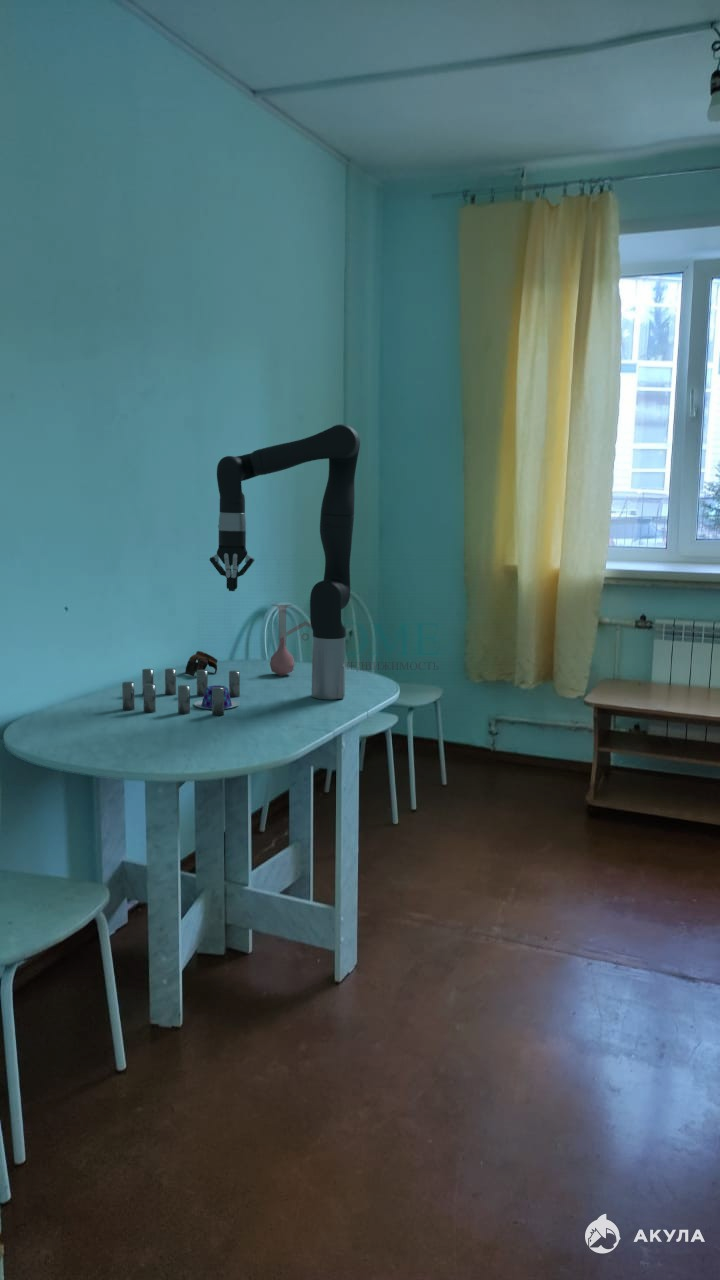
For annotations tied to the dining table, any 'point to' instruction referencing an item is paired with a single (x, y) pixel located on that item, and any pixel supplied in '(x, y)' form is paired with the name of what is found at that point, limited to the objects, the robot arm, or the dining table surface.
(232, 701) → the pudding
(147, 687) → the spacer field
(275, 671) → the perfume bottle
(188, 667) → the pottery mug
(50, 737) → the dining table surface
